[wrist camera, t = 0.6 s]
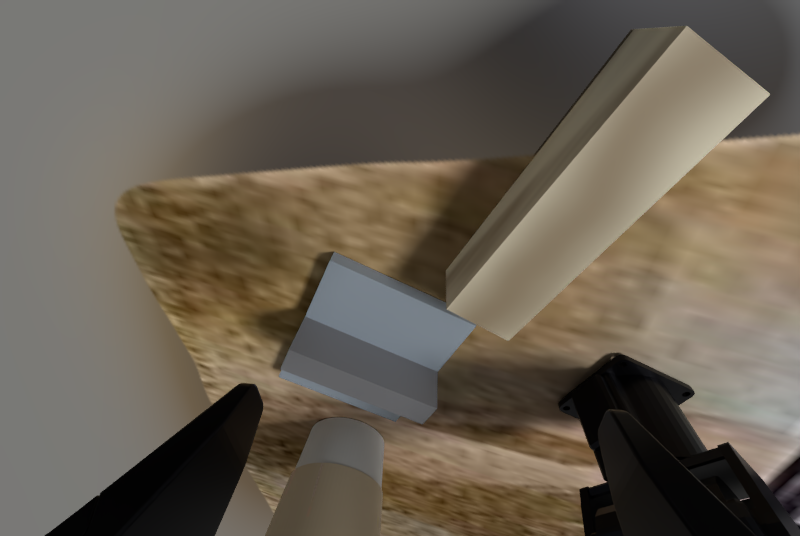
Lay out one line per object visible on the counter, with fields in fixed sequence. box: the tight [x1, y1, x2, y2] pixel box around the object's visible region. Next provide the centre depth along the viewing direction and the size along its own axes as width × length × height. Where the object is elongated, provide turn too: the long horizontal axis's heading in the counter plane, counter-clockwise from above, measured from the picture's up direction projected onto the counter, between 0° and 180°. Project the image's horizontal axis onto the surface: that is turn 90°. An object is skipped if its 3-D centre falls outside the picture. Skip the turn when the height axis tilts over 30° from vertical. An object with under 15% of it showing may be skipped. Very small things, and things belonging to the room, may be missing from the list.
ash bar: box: [446, 26, 770, 341], centre depth 17 cm, size 4×14×4 cm, turn 151°
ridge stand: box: [279, 252, 476, 424], centre depth 24 cm, size 10×12×4 cm
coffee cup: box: [265, 417, 384, 536], centre depth 26 cm, size 9×9×15 cm
